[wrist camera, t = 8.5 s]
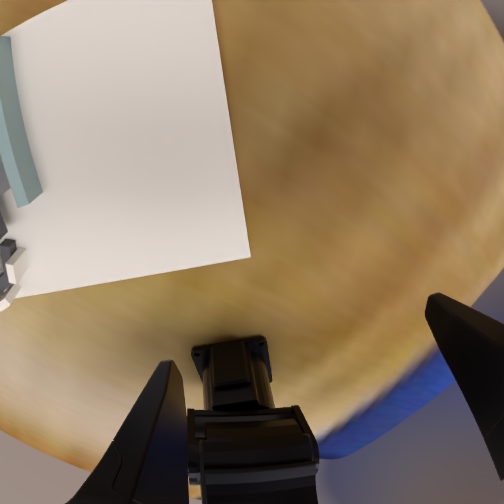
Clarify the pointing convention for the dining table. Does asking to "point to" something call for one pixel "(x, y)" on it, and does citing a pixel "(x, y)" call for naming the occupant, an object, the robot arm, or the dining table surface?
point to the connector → (0, 187)
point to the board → (124, 144)
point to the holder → (15, 134)
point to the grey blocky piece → (7, 251)
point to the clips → (13, 275)
